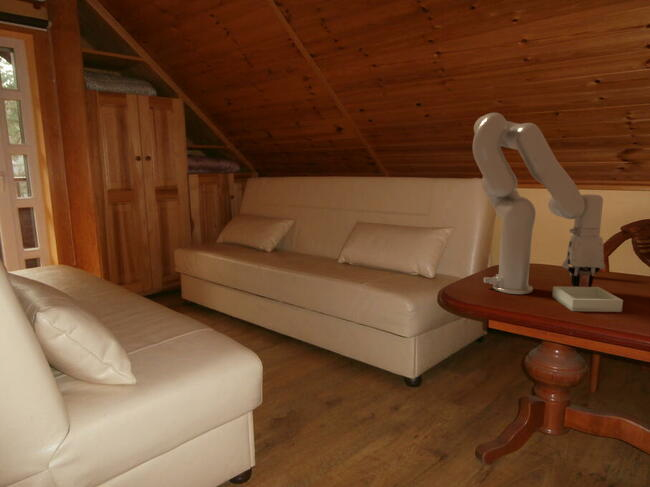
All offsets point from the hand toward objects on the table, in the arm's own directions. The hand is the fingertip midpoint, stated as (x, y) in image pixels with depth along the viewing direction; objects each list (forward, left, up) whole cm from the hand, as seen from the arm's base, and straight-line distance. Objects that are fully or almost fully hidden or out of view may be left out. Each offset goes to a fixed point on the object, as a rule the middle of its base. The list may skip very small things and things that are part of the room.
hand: (581, 285), depth 155 cm
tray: (-5, -14, -2) cm, 15 cm away
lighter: (0, 0, -2) cm, 2 cm away
